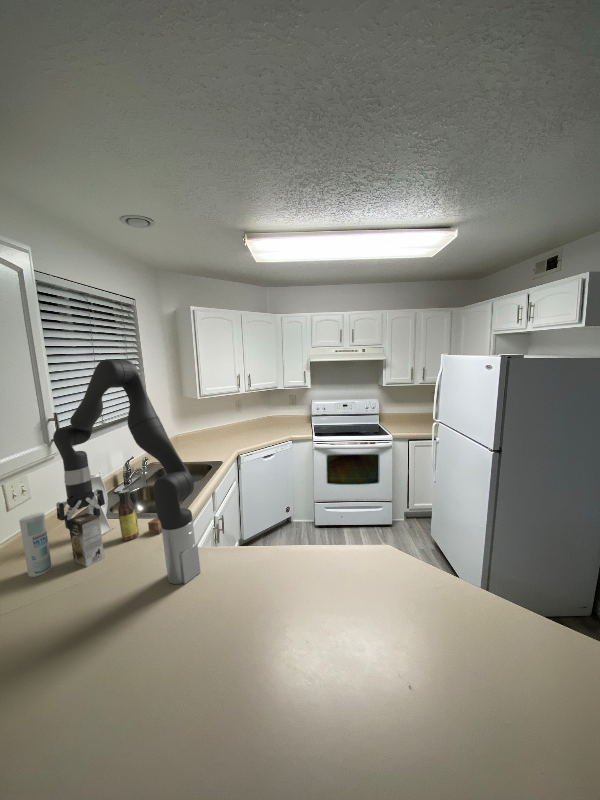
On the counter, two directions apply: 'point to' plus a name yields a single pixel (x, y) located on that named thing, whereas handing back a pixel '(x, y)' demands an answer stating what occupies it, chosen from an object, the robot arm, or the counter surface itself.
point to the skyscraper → (97, 484)
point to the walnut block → (155, 526)
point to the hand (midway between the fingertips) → (84, 523)
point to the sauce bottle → (127, 516)
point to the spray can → (35, 544)
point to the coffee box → (86, 539)
